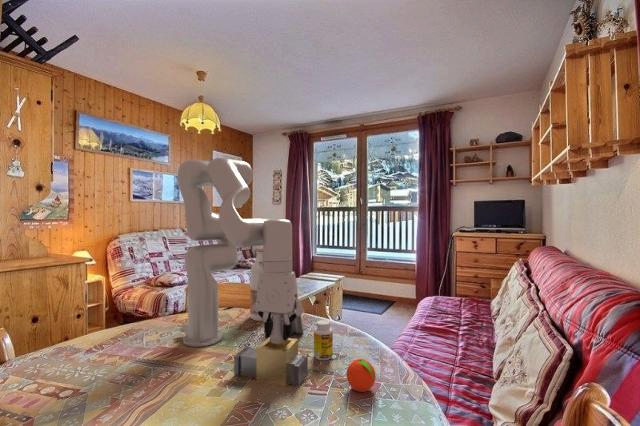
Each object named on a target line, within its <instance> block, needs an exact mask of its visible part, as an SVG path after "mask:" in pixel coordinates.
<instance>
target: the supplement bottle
mask: <svg viewBox="0 0 640 426" xmlns="http://www.w3.org/2000/svg"><path fill="white" fill-rule="evenodd" d="M332 328H333V327H331V321H329V320H328V319H327V320H326V319H320V320H318V321H316V327H315V328H314V329H313V356H314V358H315V359H316V360H319V361H328V360H330V359H332V357H333V351H334V350H333V349H334V347H333V343H334V342H333V341H334V340H333V339H334V337H333V336H334V335H333V331H334V330H333V329H332Z"/></svg>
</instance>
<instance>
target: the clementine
mask: <svg viewBox="0 0 640 426" xmlns="http://www.w3.org/2000/svg"><path fill="white" fill-rule="evenodd" d="M346 380H347V382H348V385H349V386H350V388H352V389H353V390H355V391H357V392H360V393H361V392H362V393H363V392H367V391H370V389H372V387H373V386H374V385H375V382H376V370H375V367H374V366H373V365H372V364H371V362H370V361H367V360H366V359H363V358H362V359H361V358H358V359H355V360H352V362H350V364H349V365H348V367H347V369H346Z"/></svg>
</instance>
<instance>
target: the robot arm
mask: <svg viewBox="0 0 640 426" xmlns="http://www.w3.org/2000/svg"><path fill="white" fill-rule="evenodd" d="M253 178H254V172H253V169H252V167H251V165H250V164H249V163H248V162H246V161H244V160H241V159H234V158H233V159H232V158H227V157H216V158H213V159H212V160H210V161H209V160H203V159H202V160H201V159H188V160H184V162H182V163H181V164H180V165H179V167H178V170H177V184H178V188H179V191H180V194H181V196H182V197H181V198H182V200H183V201H182V202H183V205H184V206H183V207H184V215H185V223H186V225H185V226H186V233H187V236H188V238H189V239H190V240H191V241H192V242H193V241H194V242H208V241H216V243H214V244H213V243H211V244H210V243H209V244H200V245H199V244H198V245H195V246H191V247H190V248H189V249H187V251H186V252H185V254H184V263H185V269H186V275H187V277H186V278H187V293H188V294H187V306H188V307H187V323H183V324H182V325H181V327H180V328H179V332H180V333H181V332H182V333H185V335H184V337H183V338H182V342H183V345H185V346H188V347H192V348H193V347H194V348H199V347H208V346H211V345H215V344H217V343H219V342H220V341H221V340H223V338H224V333H223V331H222V330H220V329H219V284H218V282H217V280H216V279H215V277H214V276H213V274H212V273H217V272H222V271H228V270H233V268H234V267H236V266H237V263H238V255H239V254H238V248H249V247H256V246H257V247H260V246H262V248H263V261H262V262H259V267H263V272H260V276H259V281H258V288H257V301H256V303H255V304H254V306H253V309H254V310H255V311H256V312H257V313H258V314H259V316H260V317H261V318H262V321H261V322H263V323H264V324H263V327H264V328H263V331H264V332H263V333H264V334H265V335H264V336H265V338H266V339H268V338H269V337H270V334H271V332H272V329H273V319H271V316H272V313H279V314H284V319H285V324H284V325H283V340H285V341H286V340H287V339H288V338H291V336H292V334H293V331H292V322H293V321H294V320H295V319H296V318H297V317H298V316H300V315H301V314H304V313H305V309H304V308H303V306H302V304H301V303H300V301H299V292H298V283H297V277H296V273H295V271H293V224H292V223H293V222H291V220H289V219H284V218H283V219H279V218H278V219H276V218H275V219H274V218H257V217H256V218H254V217H251V218H242V217H241V216H240V215H239V213H238V211H237V210H236V209H238V208H240V207H241V206H244V204H245V203H247V202H248V200H249V199H250V197H251V189H250V188H249V185H250V184H251V183H252V181H253ZM202 187H213V188H215V190H216V192H217V193H218V195H219V197H220V199H221V200H222V201H221V204H220V207H219V213H217V212H216V213H215V212H213V211H212V204H211V203H212V202H211V200H210V197H209V196H208V193H207V192H206V191H205V190H204V189H203V188H202ZM294 309H295V310H297V311H296V312H295V313H294V314H293V313H292V311H293V310H294Z"/></svg>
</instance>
